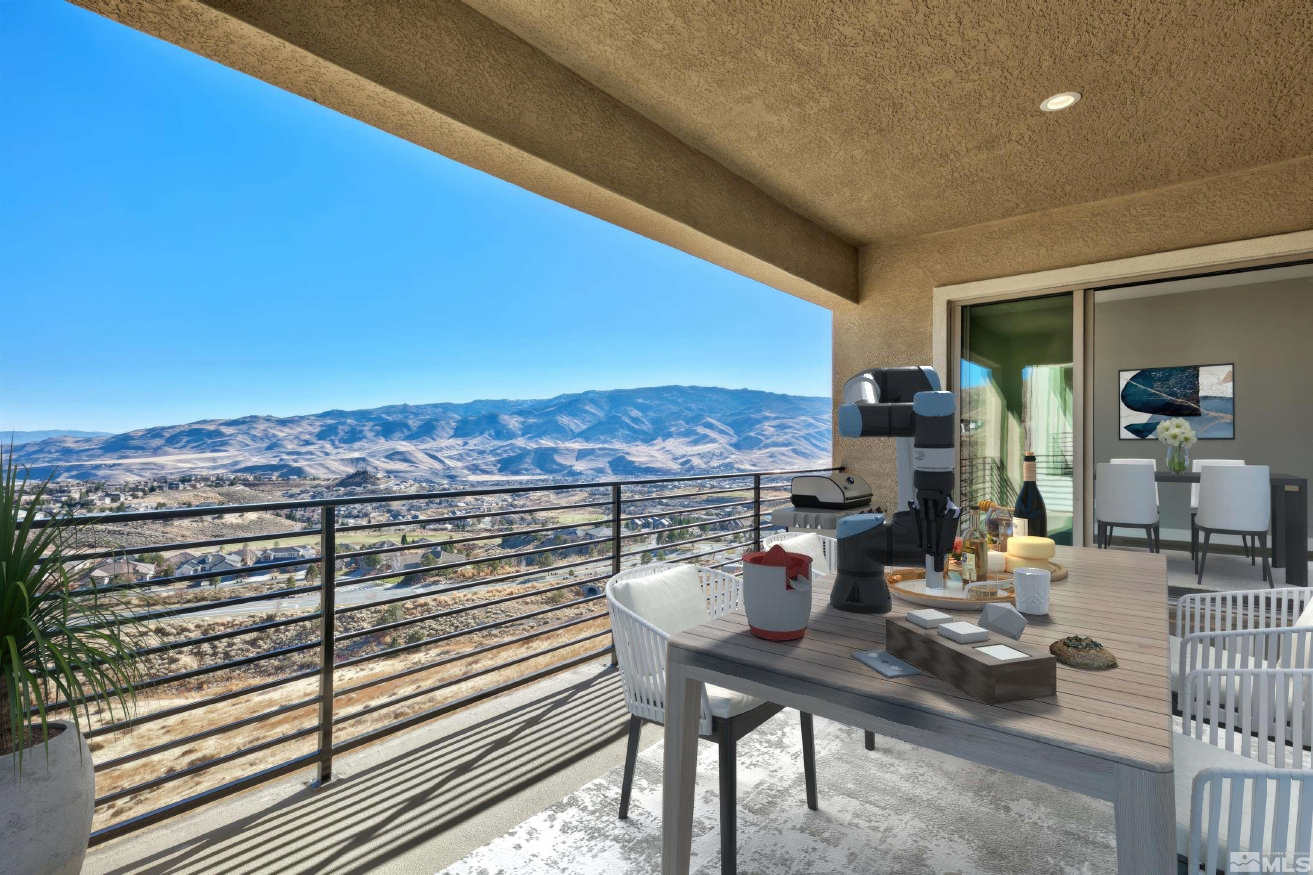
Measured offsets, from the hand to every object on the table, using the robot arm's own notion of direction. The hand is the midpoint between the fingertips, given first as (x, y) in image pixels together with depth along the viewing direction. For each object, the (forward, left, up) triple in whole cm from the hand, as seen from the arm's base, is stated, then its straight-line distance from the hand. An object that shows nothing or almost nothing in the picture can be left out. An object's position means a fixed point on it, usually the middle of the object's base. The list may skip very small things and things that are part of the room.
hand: (934, 586), depth 125 cm
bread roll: (+10, +26, -14) cm, 31 cm away
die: (-3, +20, -14) cm, 24 cm away
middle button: (+8, 0, -9) cm, 12 cm away
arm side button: (-1, 0, -9) cm, 9 cm away
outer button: (+17, 0, -10) cm, 20 cm away
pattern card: (+1, -12, -14) cm, 19 cm away
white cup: (-18, +44, -14) cm, 49 cm away
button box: (+8, 0, -14) cm, 16 cm away
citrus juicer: (-21, -23, -14) cm, 34 cm away
